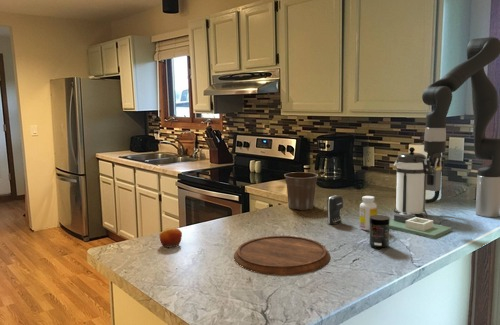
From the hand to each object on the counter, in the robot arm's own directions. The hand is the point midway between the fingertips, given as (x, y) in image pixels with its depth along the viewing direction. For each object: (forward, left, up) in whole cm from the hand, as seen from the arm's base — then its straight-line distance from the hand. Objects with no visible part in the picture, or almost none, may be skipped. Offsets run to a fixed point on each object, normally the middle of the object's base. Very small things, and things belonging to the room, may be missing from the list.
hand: (432, 184), depth 164 cm
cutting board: (+62, -20, -19) cm, 68 cm away
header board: (+3, -5, -18) cm, 19 cm away
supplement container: (+31, -3, -18) cm, 36 cm away
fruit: (+84, -55, -18) cm, 102 cm away
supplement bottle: (+16, -18, -18) cm, 30 cm away
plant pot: (+9, -61, -18) cm, 64 cm away
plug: (0, 0, -2) cm, 2 cm away
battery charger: (+19, -32, -18) cm, 41 cm away
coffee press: (-16, -17, -18) cm, 30 cm away
